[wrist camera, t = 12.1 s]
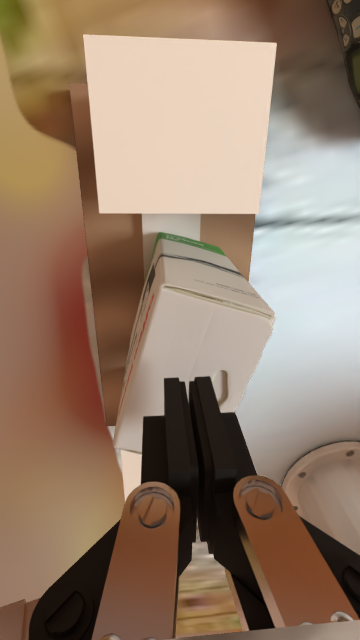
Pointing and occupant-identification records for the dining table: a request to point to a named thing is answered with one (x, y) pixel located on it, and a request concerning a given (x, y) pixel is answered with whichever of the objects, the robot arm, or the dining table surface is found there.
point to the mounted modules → (177, 131)
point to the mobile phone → (349, 38)
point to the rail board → (134, 254)
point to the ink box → (190, 332)
